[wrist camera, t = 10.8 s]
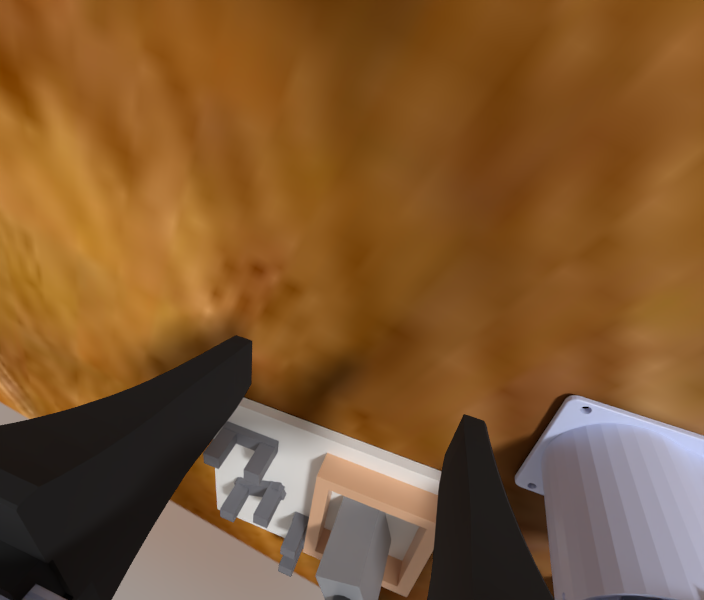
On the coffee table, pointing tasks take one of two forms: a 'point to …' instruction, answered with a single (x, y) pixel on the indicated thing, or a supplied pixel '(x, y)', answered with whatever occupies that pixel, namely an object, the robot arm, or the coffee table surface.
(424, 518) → the frame
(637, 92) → the coffee table surface
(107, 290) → the coffee table surface
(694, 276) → the coffee table surface
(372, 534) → the block
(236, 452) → the board
